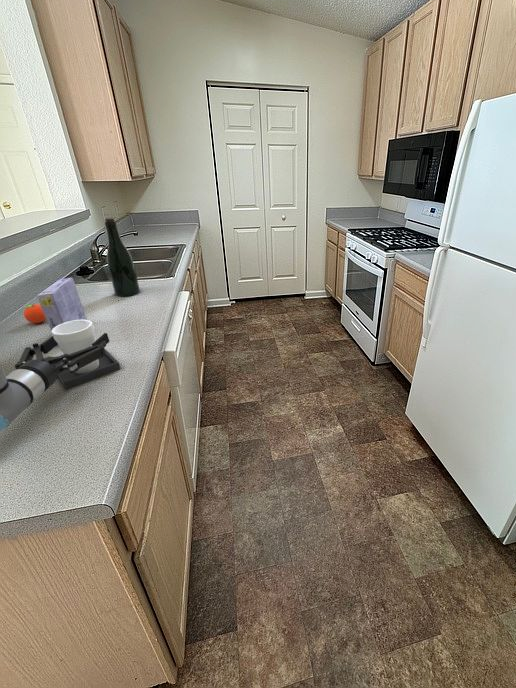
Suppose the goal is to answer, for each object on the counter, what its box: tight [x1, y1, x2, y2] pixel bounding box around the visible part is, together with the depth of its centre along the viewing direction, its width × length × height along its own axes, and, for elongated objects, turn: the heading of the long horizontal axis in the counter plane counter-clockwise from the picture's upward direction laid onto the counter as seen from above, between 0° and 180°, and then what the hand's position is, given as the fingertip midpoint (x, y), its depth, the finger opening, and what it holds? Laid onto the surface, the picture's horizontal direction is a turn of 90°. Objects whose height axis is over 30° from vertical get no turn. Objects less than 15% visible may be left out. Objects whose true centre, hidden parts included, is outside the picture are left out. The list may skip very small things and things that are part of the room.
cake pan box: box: [36, 277, 88, 331], centre depth 112 cm, size 19×5×18 cm, turn 14°
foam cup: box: [50, 319, 99, 374], centre depth 92 cm, size 10×9×13 cm
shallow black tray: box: [57, 347, 121, 390], centre depth 95 cm, size 14×14×2 cm
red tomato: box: [20, 304, 47, 324], centre depth 123 cm, size 8×7×7 cm
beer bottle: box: [104, 217, 141, 297], centre depth 145 cm, size 10×10×33 cm
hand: (83, 337), depth 94 cm, fingers open, 13 cm apart
